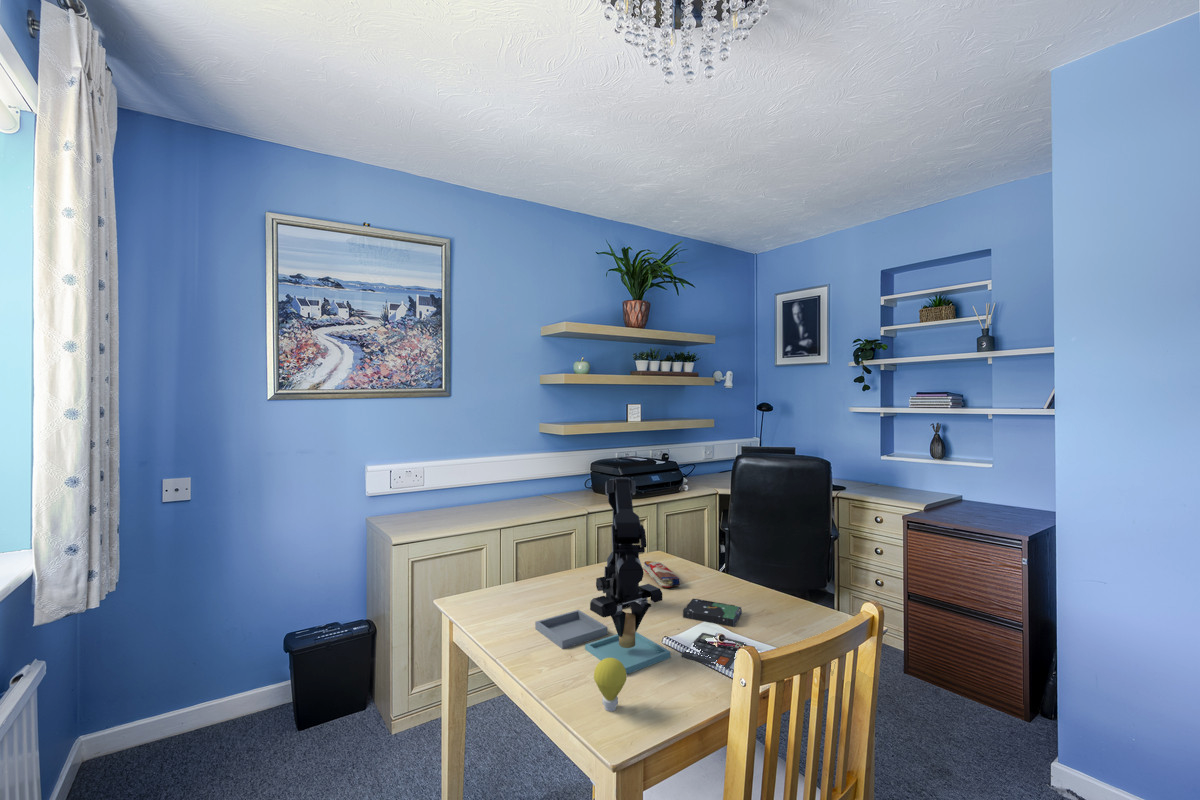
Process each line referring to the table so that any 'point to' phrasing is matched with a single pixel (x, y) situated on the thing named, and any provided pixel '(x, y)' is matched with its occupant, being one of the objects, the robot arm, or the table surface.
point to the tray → (629, 652)
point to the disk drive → (712, 612)
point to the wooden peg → (628, 632)
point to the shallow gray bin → (571, 628)
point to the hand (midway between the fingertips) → (627, 634)
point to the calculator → (713, 651)
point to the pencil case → (661, 574)
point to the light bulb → (610, 681)
